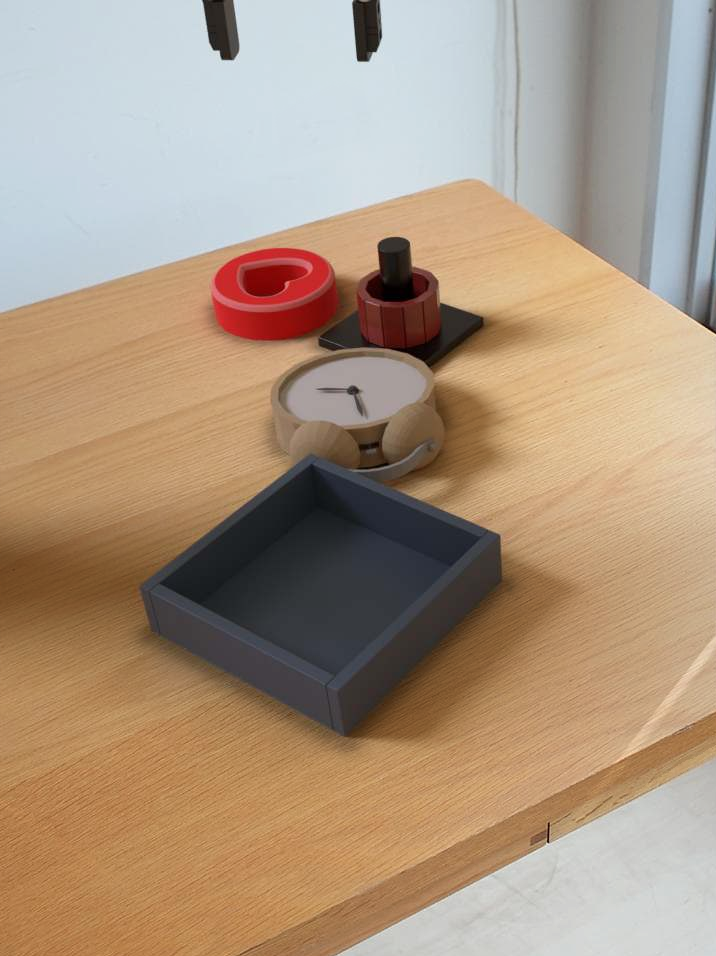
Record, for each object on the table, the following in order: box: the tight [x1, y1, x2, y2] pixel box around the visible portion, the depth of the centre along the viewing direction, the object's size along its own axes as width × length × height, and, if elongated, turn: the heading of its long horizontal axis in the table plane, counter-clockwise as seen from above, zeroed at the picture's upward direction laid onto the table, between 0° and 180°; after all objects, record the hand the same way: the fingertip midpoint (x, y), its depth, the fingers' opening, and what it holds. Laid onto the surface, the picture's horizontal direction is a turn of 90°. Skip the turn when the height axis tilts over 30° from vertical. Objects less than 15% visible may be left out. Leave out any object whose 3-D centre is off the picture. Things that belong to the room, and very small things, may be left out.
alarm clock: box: [269, 348, 445, 484], centre depth 89 cm, size 11×5×15 cm
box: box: [139, 453, 503, 738], centre depth 77 cm, size 15×15×4 cm
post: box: [317, 236, 485, 369], centre depth 98 cm, size 9×9×8 cm
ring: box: [355, 265, 441, 348], centre depth 99 cm, size 6×6×4 cm
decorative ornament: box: [210, 247, 339, 342], centre depth 104 cm, size 10×10×3 cm
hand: (297, 57), depth 82 cm, fingers open, 8 cm apart
